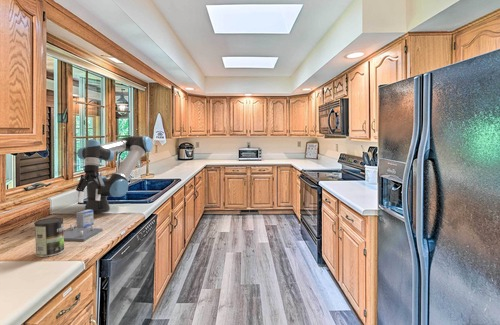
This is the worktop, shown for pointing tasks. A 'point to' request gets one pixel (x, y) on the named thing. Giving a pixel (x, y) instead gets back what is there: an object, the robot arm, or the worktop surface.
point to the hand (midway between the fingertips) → (89, 201)
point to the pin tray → (80, 233)
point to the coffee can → (49, 237)
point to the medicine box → (84, 218)
